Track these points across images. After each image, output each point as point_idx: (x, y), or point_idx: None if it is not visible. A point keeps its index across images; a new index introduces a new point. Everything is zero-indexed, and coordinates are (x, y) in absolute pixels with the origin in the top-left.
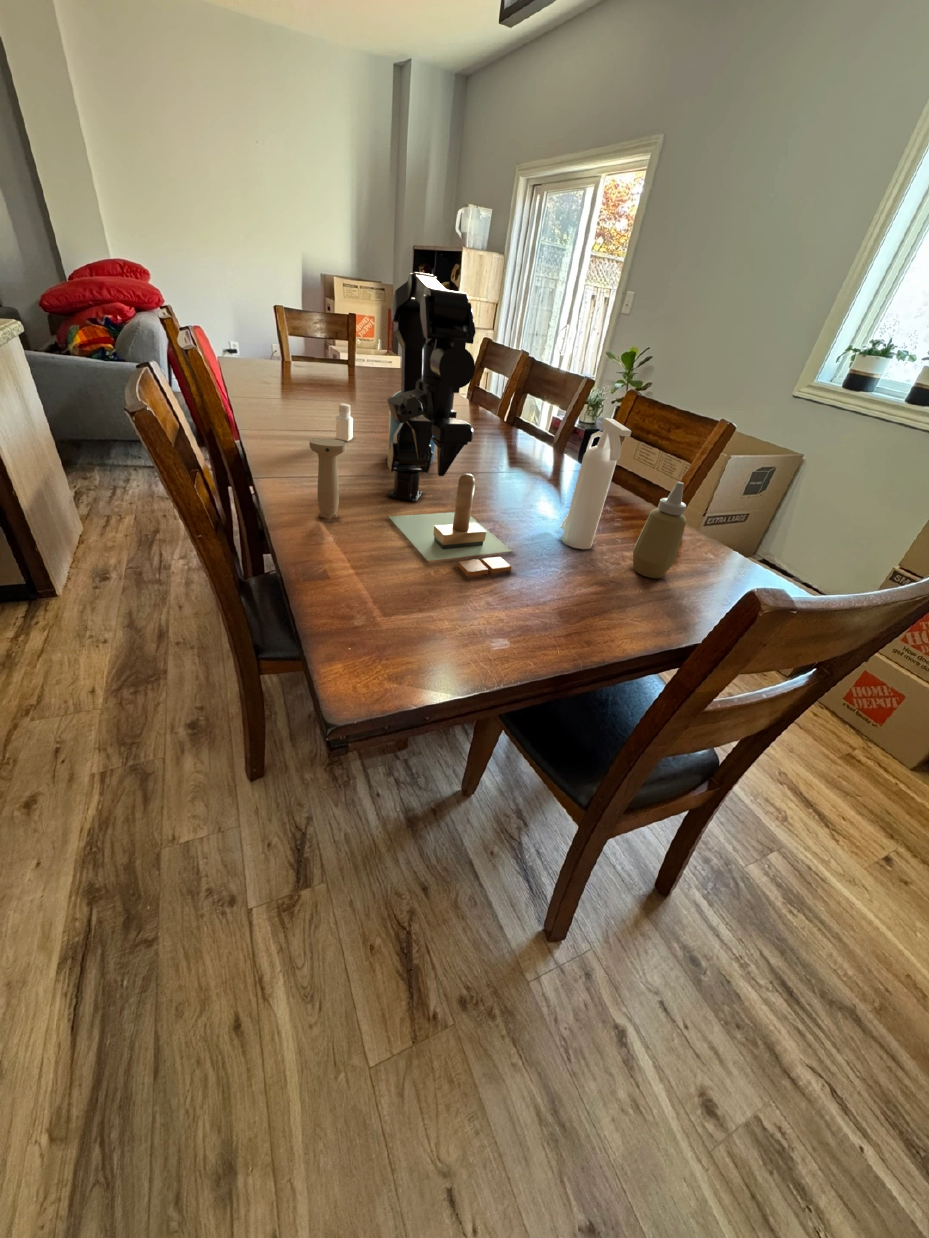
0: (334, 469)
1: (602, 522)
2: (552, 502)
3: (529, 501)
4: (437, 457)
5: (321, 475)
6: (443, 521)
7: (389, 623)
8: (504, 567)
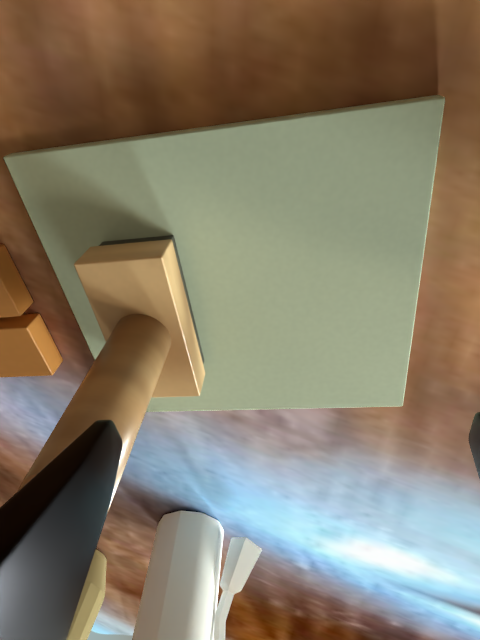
0: None
1: (289, 593)
2: (414, 578)
3: (437, 551)
4: (17, 535)
5: None
6: (334, 318)
7: None
8: None
